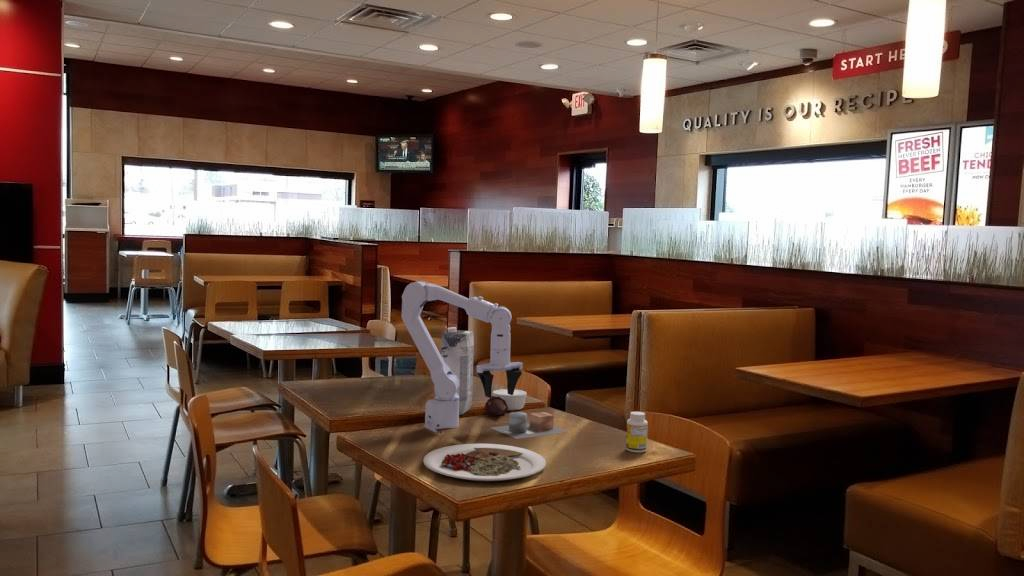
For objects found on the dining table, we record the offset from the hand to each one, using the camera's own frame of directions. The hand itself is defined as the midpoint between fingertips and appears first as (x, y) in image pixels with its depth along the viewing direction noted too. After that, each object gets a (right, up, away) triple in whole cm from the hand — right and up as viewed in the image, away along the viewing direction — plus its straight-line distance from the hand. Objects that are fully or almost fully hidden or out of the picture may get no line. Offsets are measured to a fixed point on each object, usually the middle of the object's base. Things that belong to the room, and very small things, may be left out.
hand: (499, 395), depth 227 cm
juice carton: (-14, -9, +24) cm, 29 cm away
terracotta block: (+12, -10, +2) cm, 16 cm away
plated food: (-3, -13, -34) cm, 37 cm away
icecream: (-1, -10, +18) cm, 20 cm away
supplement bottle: (+37, -13, -15) cm, 42 cm away
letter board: (+9, -11, -1) cm, 14 cm away
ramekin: (+3, -9, +32) cm, 34 cm away
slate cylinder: (+5, -10, -3) cm, 11 cm away
